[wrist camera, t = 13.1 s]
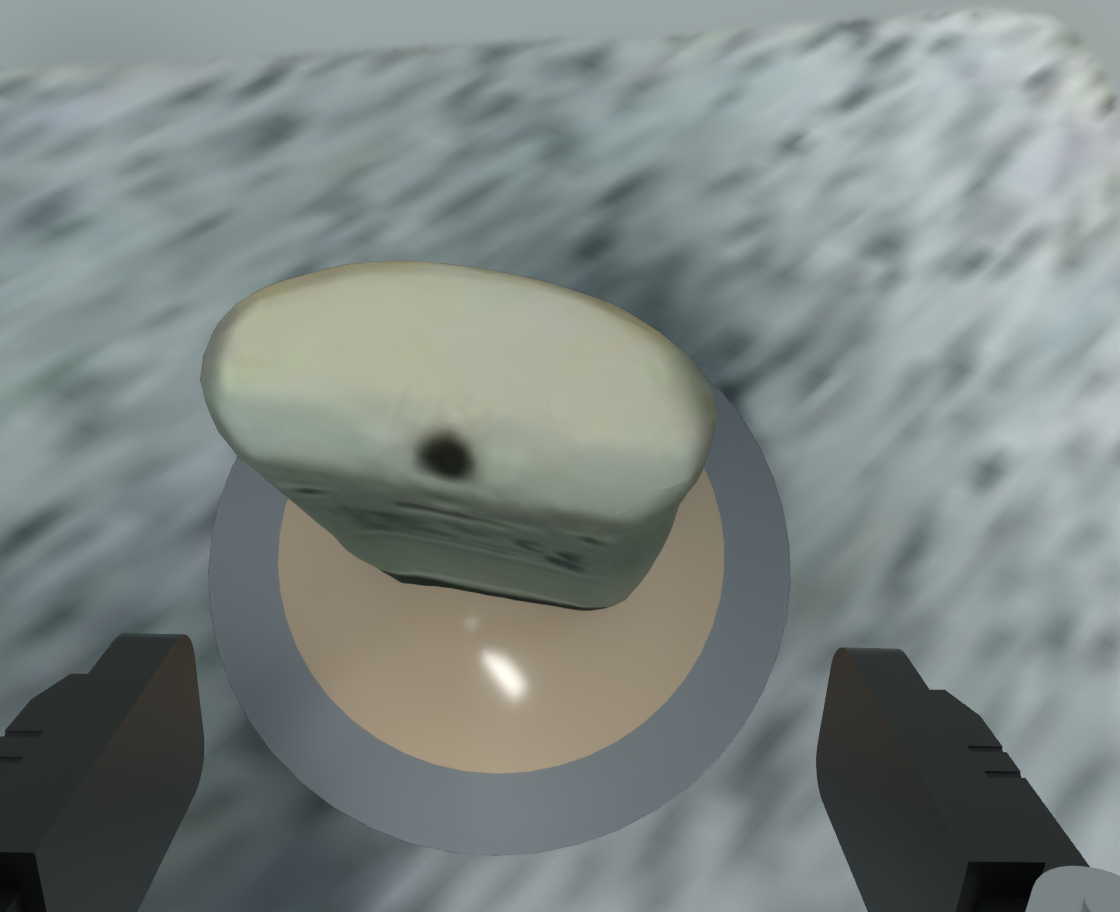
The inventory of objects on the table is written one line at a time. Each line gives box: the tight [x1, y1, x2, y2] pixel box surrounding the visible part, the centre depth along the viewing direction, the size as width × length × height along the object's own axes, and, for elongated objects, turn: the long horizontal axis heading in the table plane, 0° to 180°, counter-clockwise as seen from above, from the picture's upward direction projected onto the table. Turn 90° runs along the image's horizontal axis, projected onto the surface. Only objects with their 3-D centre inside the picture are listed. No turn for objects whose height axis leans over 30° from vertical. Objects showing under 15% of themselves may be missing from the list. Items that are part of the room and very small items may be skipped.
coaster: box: [208, 369, 790, 856], centre depth 18 cm, size 11×11×2 cm
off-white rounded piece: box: [200, 261, 717, 611], centre depth 14 cm, size 6×5×8 cm
